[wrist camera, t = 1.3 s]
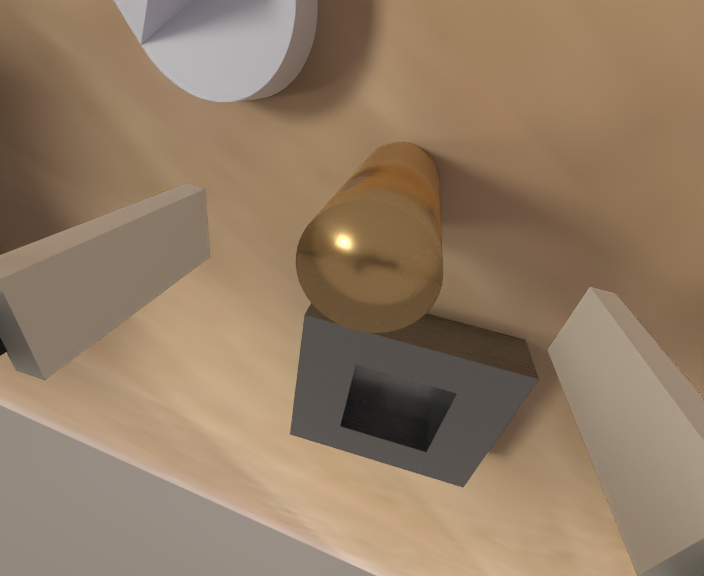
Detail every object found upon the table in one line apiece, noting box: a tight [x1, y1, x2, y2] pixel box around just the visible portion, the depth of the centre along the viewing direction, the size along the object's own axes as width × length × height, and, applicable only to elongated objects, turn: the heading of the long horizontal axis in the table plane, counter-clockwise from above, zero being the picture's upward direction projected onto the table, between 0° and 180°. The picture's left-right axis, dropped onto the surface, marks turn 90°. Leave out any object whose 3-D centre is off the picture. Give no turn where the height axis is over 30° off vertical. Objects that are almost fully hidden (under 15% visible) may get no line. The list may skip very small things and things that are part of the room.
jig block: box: [290, 303, 538, 487], centre depth 28 cm, size 16×14×4 cm
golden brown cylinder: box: [296, 142, 443, 333], centre depth 16 cm, size 5×5×12 cm
